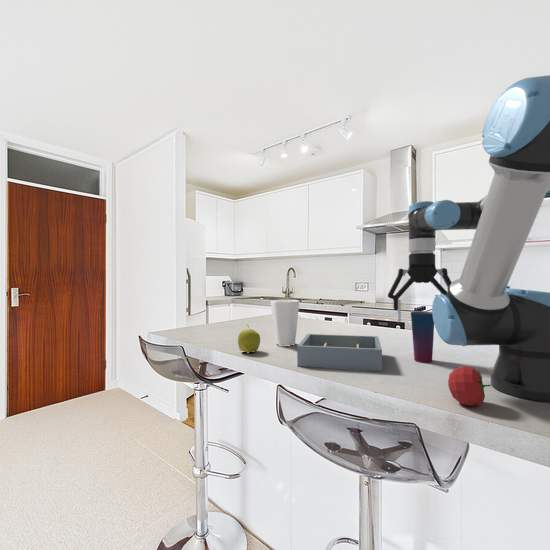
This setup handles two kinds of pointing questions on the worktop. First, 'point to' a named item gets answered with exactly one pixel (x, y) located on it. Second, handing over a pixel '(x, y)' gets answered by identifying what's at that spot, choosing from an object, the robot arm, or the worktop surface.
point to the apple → (248, 340)
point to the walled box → (340, 352)
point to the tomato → (466, 386)
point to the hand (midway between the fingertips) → (422, 321)
